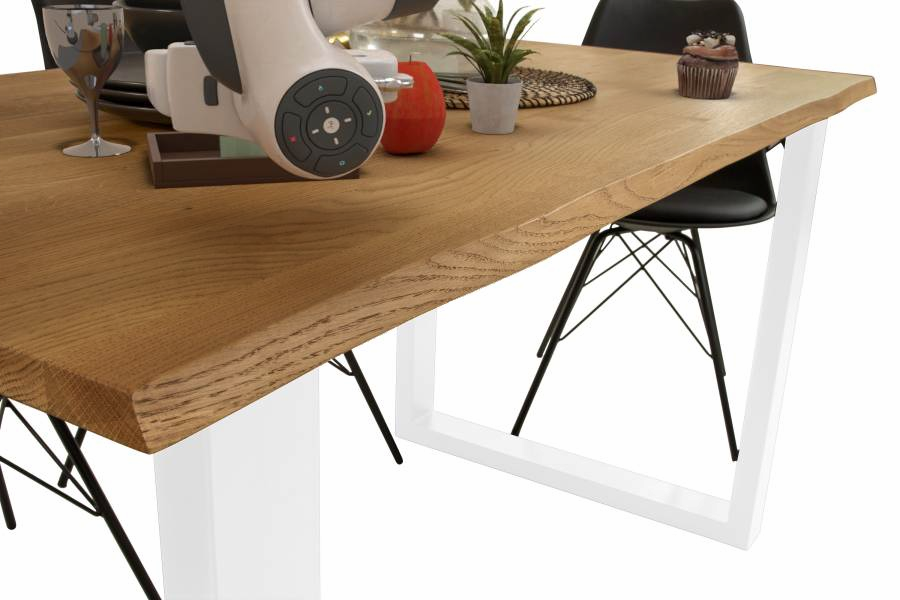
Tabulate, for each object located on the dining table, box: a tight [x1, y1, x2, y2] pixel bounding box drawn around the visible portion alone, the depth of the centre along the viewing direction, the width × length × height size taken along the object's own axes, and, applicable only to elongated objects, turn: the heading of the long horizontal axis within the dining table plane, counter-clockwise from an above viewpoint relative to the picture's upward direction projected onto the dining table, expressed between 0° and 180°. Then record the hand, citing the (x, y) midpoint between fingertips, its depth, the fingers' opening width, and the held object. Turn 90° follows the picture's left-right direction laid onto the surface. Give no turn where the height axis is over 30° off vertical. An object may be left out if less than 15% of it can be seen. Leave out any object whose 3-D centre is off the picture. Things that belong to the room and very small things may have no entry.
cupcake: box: [675, 29, 740, 100], centre depth 158 cm, size 10×10×10 cm
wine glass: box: [42, 4, 132, 158], centre depth 107 cm, size 8×8×15 cm
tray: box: [146, 131, 360, 190], centre depth 103 cm, size 20×15×3 cm
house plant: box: [432, 0, 545, 135], centre depth 125 cm, size 14×14×16 cm
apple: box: [380, 54, 447, 155], centre depth 111 cm, size 8×8×11 cm
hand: (262, 64), depth 88 cm, fingers open, 8 cm apart
